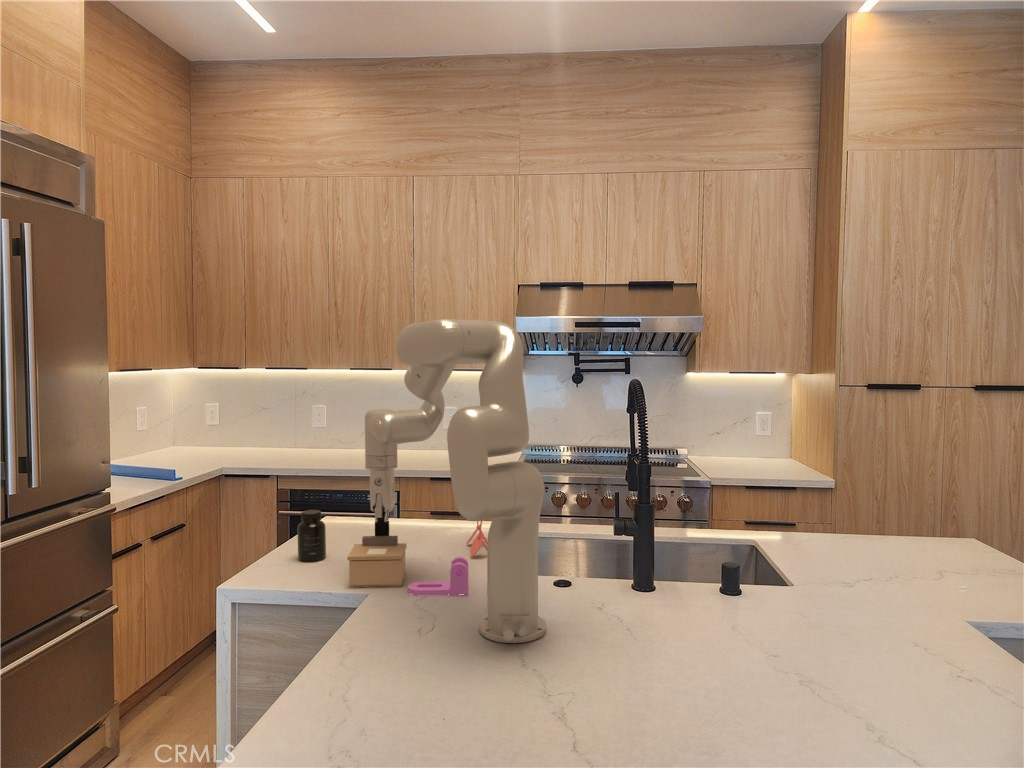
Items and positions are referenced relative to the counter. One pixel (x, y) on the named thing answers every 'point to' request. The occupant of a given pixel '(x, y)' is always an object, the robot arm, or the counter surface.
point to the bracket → (445, 582)
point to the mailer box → (376, 573)
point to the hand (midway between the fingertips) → (382, 537)
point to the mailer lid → (378, 548)
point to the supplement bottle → (311, 537)
